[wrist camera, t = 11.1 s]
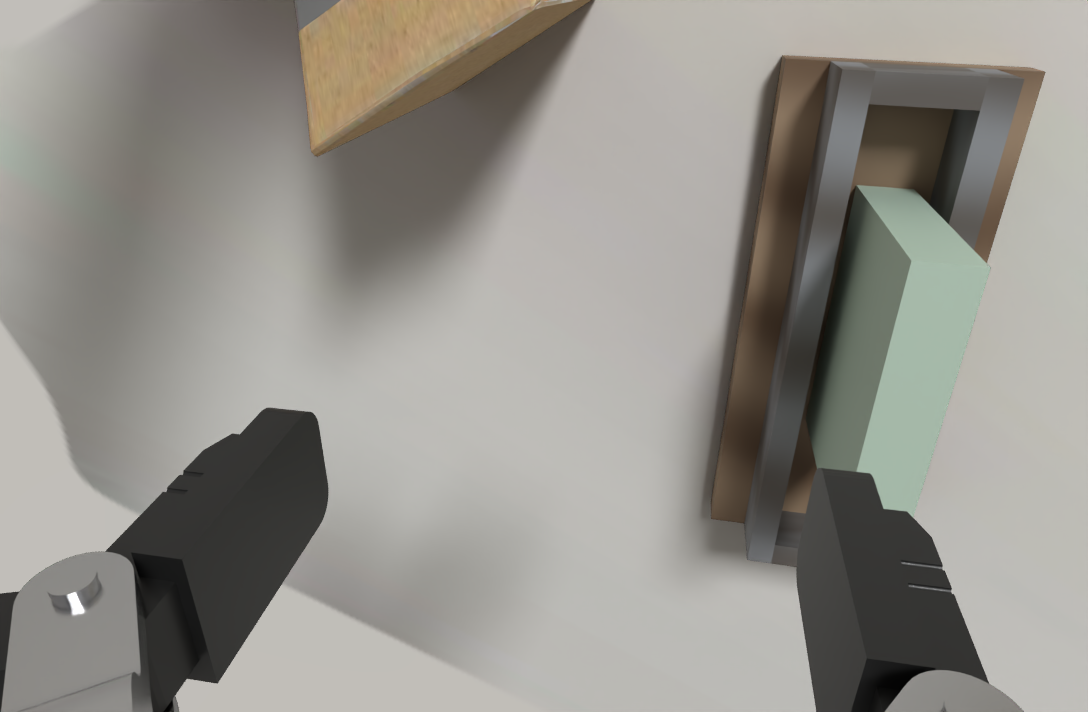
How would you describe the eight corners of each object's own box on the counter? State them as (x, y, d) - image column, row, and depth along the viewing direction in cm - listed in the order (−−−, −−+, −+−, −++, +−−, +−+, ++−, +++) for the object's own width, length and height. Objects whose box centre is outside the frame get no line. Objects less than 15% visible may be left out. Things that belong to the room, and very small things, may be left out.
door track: (782, 55, 33) (793, 66, 29) (1030, 67, 32) (1077, 81, 28) (710, 502, 44) (712, 554, 40) (893, 526, 43) (913, 583, 39)
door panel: (856, 184, 34) (911, 261, 25) (919, 189, 33) (997, 268, 25) (805, 419, 39) (836, 549, 30) (858, 425, 39) (905, 559, 30)
